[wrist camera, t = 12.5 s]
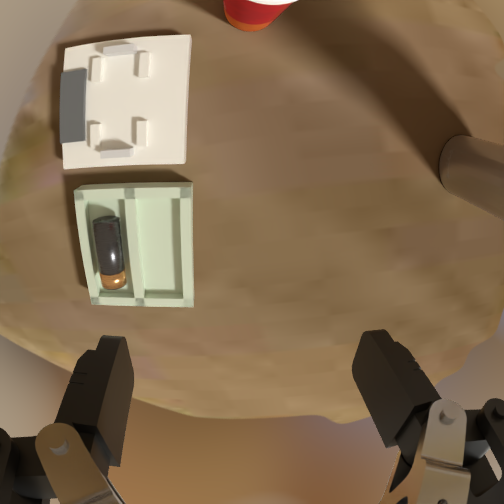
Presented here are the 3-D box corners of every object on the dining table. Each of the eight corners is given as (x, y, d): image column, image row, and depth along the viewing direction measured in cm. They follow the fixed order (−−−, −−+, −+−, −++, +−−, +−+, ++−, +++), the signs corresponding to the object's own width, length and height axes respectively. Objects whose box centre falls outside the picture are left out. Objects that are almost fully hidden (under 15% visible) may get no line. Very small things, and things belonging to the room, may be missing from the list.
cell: (117, 213, 34) (121, 222, 32) (124, 278, 38) (129, 291, 35) (91, 218, 33) (93, 226, 30) (100, 283, 36) (104, 296, 34)
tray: (192, 181, 35) (191, 187, 33) (194, 295, 41) (193, 307, 39) (82, 184, 33) (73, 190, 31) (97, 293, 39) (91, 304, 37)
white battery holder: (191, 39, 28) (189, 30, 24) (185, 160, 34) (182, 166, 30) (74, 51, 26) (58, 46, 22) (72, 165, 32) (56, 172, 28)
